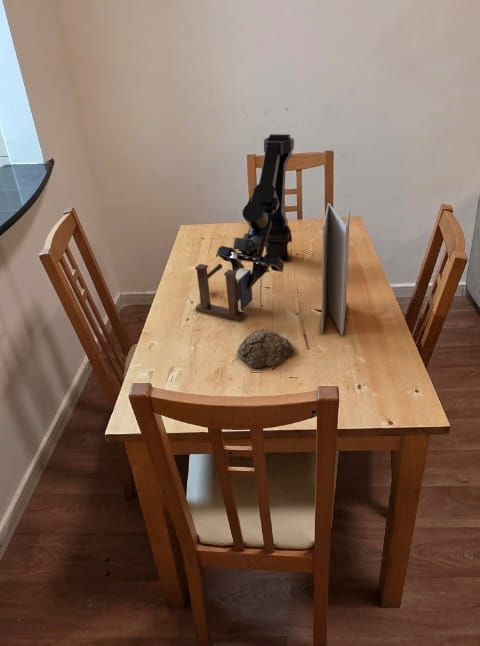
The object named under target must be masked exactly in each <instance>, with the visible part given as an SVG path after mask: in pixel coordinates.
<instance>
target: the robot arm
mask: <svg viewBox="0 0 480 646" xmlns="http://www.w3.org/2000/svg"><path fill="white" fill-rule="evenodd" d="M294 148H295V139H294V138H293V137H291V134H290V133H289V134H288V133H287V134H286V133H283V134H281V133H280V134H277V133H276V134H275V133H274V134H273V133H270V134H269V137H265V138H264V139H263V153H264V156H263V162H262V168H261V173H260V176H259V182H258V184H257V185H255V187H254V188H253V191H252V194H251V196H250V197H249V200H248V201H247V203H246V205H245V206H244V207H243V209H242V217H243V219H244V221H245V223H246V225H248V227H249V228H248V231H247V233H244V236H243V237H234V240H233V241H234V242H233V247H229V246H224V245H221V246H220V247H218V249H217V250H216V256H218V257H219V258H220V259H222V260H223V261H224V262H228V263H231V268H232V270H234V271H236V270H237V269H238V268H242V269H245V265H244V264H243V263H242V262H244V261H245V262H249V263H252V270H251V276H250V278H249V281H248V285H247V289H248V290H249V289H250V288H251V287H252V288H253V286H254V285H255V284H256V282H258V280H259V279H260V278H261V277H263V276H264V275H265V274H266V273H270V268H271V271H274V272H280V273H282V272H283V271H284V267H285V263H284V262H289V260H290V258H289V255H288V253H289V252H288V251H289V250H288V249H289V248H288V245H289V243H291V242H293V235H292V230H291V228H290V225H289V219H288V218H287V216H286V214H285V212H284V208H285V207H284V206H285V204H284V203H285V186H286V171H287V170H286V169H287V168H286V167H287V164H288V162H289V161H290V159H291V158H292V154H293V151H294ZM264 251H265V252H264ZM264 253H265V255H264V256H263V254H264Z"/></svg>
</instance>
